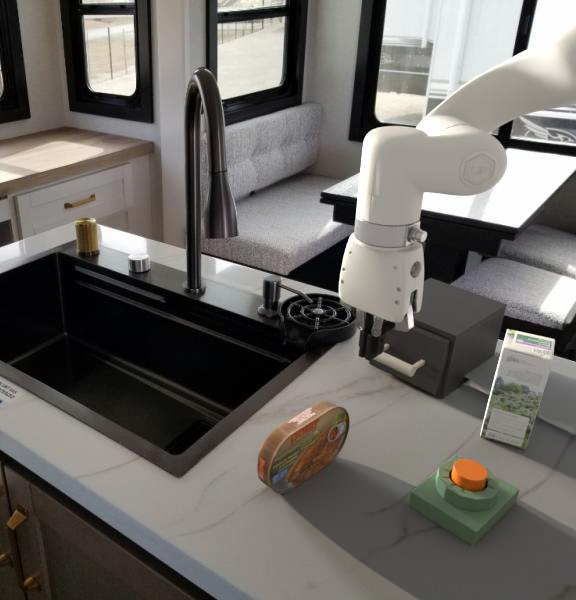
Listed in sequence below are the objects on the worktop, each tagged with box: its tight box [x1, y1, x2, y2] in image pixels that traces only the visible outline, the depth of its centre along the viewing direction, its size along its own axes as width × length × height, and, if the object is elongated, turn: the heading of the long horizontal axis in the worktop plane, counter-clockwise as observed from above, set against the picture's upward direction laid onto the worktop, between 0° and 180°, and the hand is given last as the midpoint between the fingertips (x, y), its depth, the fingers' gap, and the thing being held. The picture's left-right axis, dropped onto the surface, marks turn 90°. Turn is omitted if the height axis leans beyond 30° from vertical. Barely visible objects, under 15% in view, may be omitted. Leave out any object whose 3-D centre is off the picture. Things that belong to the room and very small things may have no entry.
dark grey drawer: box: [368, 325, 451, 396], centre depth 98 cm, size 18×12×9 cm, turn 130°
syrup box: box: [479, 328, 556, 450], centre depth 84 cm, size 6×6×14 cm
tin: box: [256, 400, 350, 495], centre depth 79 cm, size 15×3×8 cm, turn 129°
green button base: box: [407, 454, 520, 547], centre depth 74 cm, size 10×8×4 cm
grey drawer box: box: [370, 277, 508, 400], centre depth 100 cm, size 15×13×11 cm
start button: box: [451, 458, 488, 492], centre depth 73 cm, size 4×4×2 cm
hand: (370, 354), depth 88 cm, fingers closed
